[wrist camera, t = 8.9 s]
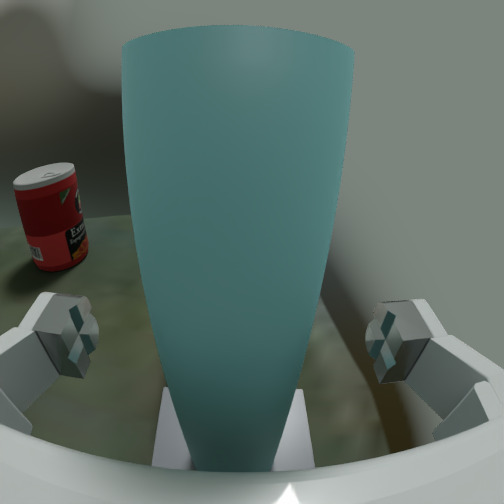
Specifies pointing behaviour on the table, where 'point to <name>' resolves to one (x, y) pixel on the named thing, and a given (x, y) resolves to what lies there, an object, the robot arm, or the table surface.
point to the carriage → (233, 229)
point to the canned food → (52, 216)
